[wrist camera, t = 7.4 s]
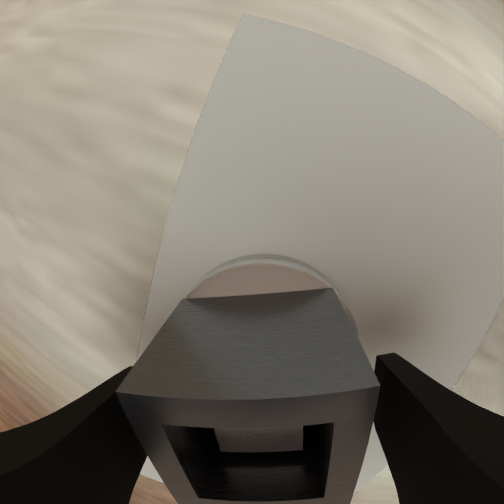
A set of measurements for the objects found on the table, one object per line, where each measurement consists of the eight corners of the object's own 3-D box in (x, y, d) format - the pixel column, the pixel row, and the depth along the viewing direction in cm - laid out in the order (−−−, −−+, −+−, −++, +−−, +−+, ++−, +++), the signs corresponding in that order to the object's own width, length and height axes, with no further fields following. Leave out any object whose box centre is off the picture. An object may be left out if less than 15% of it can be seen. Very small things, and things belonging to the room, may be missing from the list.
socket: (332, 287, 9) (380, 385, 4) (330, 401, 10) (349, 504, 6) (182, 298, 10) (115, 391, 5) (207, 407, 11) (179, 505, 6)
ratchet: (350, 245, 10) (404, 296, 6) (330, 496, 15) (335, 550, 10) (164, 261, 11) (99, 316, 6) (232, 500, 15) (223, 553, 10)
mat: (535, 175, 9) (541, 176, 9) (327, 509, 16) (328, 513, 15) (243, 20, 9) (242, 14, 8) (127, 463, 16) (125, 467, 15)
